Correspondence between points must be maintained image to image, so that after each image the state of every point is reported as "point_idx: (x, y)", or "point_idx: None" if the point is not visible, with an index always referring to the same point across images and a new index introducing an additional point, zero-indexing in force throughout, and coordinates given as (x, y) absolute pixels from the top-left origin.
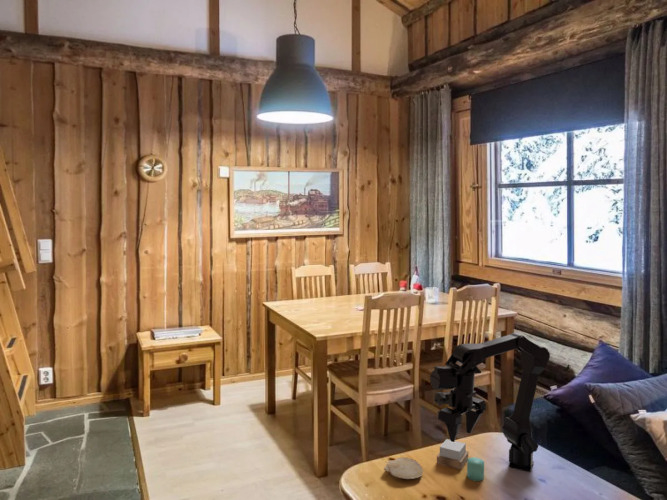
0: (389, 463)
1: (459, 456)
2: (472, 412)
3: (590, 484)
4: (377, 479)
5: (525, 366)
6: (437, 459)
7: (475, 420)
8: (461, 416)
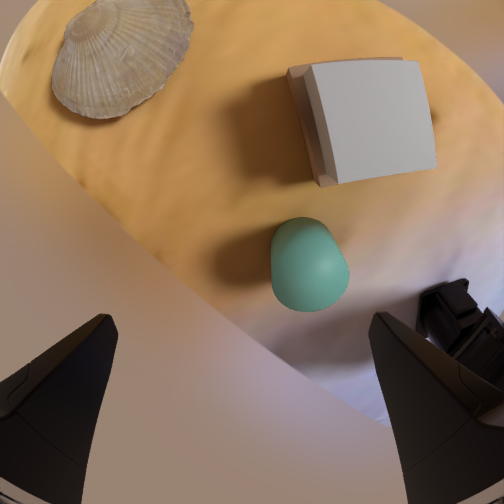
0: (97, 3)
1: (332, 178)
2: (449, 497)
3: None
4: (54, 41)
5: None
6: (288, 73)
7: (401, 460)
8: None
